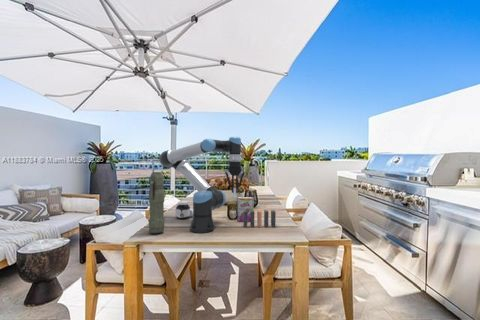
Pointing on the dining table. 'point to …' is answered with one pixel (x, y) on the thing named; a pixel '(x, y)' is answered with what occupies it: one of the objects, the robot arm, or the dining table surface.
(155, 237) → the dining table surface
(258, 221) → the domino
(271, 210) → the domino
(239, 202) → the candy bar box
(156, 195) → the thermos
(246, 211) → the domino
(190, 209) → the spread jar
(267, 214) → the domino
